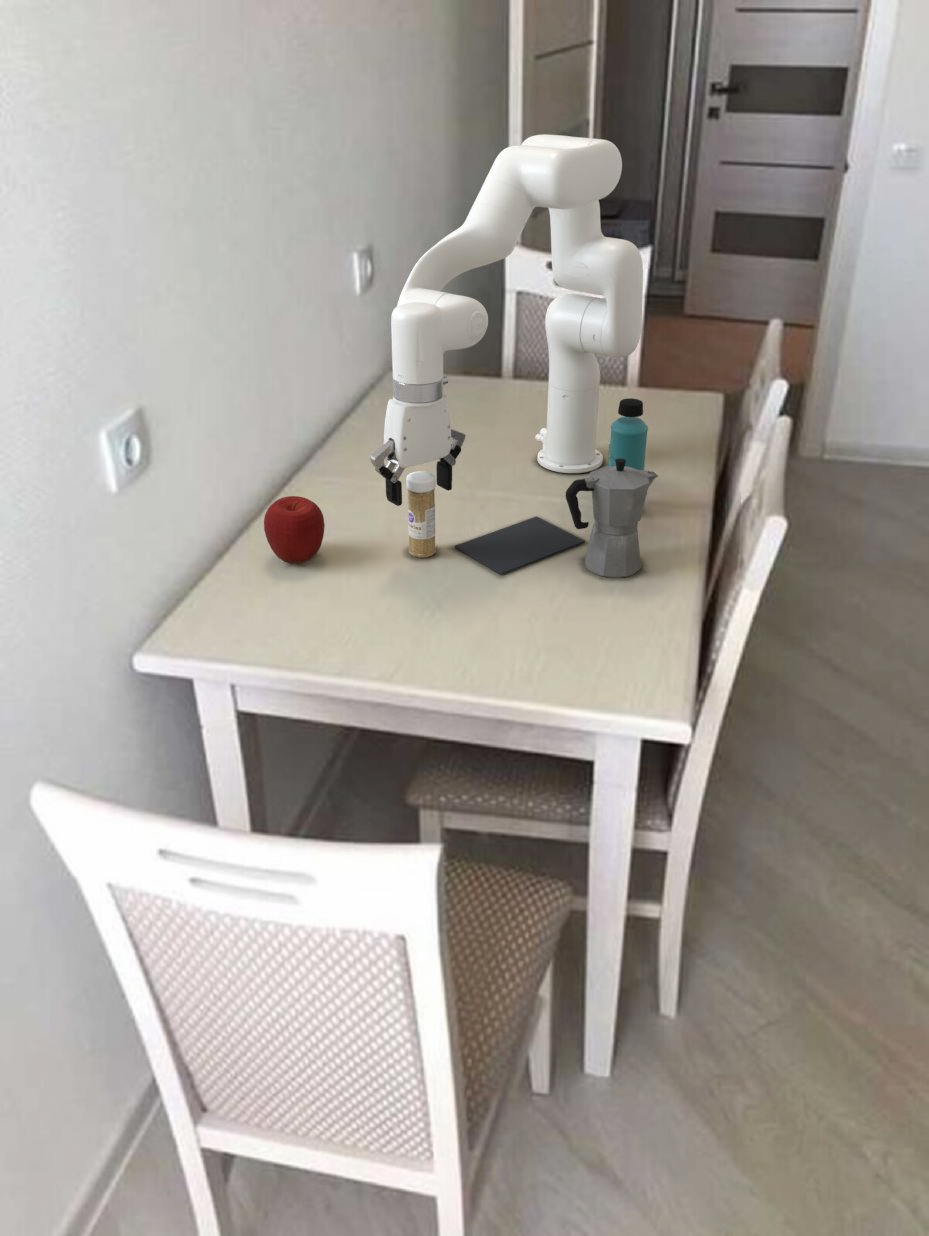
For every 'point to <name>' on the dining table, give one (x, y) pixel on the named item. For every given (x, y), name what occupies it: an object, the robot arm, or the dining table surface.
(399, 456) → the robot arm
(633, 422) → the beverage bottle
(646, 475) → the coffeepot
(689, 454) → the dining table surface
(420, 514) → the sprinkles bottle
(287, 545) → the apple
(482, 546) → the mat
